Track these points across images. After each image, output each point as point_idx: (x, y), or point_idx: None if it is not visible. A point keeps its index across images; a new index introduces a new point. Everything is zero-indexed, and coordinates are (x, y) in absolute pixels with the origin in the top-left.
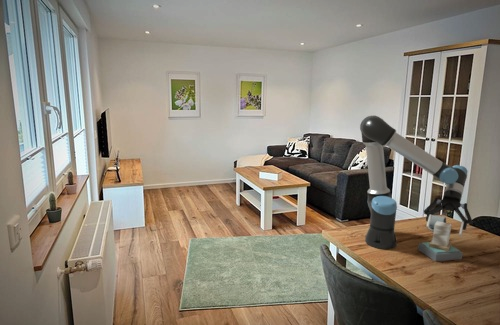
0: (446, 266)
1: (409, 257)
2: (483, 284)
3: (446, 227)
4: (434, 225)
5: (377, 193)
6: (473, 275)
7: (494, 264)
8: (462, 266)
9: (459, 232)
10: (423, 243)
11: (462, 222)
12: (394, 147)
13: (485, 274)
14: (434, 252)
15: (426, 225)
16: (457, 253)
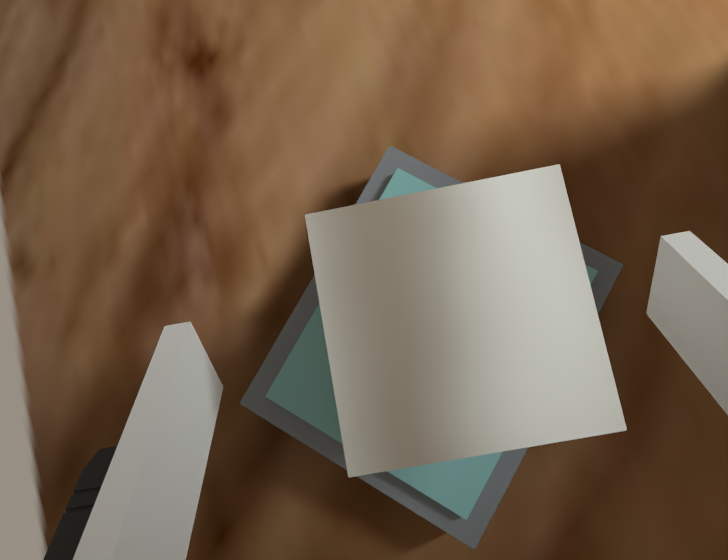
0: (300, 156)
1: (560, 71)
2: (51, 97)
3: (348, 207)
4: (550, 169)
5: None
6: (124, 173)
7: (46, 513)
8: (217, 257)
9: (184, 333)
10: None
11: (108, 530)
12: None
13: (67, 259)
14: (418, 175)
15: (692, 235)
16: (272, 350)
